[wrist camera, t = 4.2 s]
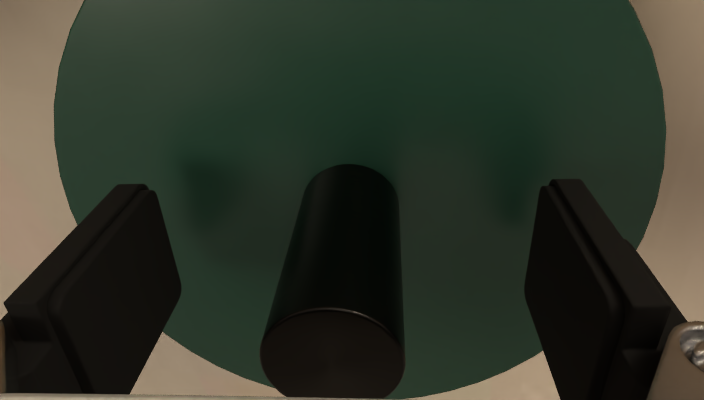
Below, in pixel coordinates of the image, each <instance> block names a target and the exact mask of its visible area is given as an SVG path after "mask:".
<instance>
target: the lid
mask: <svg viewBox="0 0 704 400" xmlns="http://www.w3.org/2000/svg"><path fill="white" fill-rule="evenodd" d="M54 140H55V147H56V153H57V160H58V166H59V172H60V177H61V180H62V184H63V187H64V190H65V193H66V197H67V200H68V203H69V206H70V209H71V212H72V214H73V216H74V218H75V220H76V223H77V225H79V224H80V223H81V221H82V220H83V219H84V218H85V217H86V216H87V215H88V214H89V213H90V212H91V211H92V210H93V209H94V208H95V207H96V206H97V205H98V204H99V203H100V202H101V201H102V200H103V199H104V198H105V196H106V195H107V194H108V193H109V192H110V191H111V190H112V189H113V188H114V187H115V186H116V185H118V184H145V185H147V187H148V188H149V190H154V191H155V192H156V194H157V197H158V200H159V204H160V207H161V211H162V215H163V218H164V222H165V226H166V229H167V233H168V237H169V240H170V244H171V248H172V251H173V255H174V259H175V262H176V266H177V270H178V273H179V277H180V281H181V296H180V299H179V301H178V303H177V305H176V306H175V308H174V310H173V312H172V314H171V316H170V318H169V320H168V322H167V324H166V326H165V327H164V329H163V332H164V333H165V334H166V335H168V336H169V337H171V338H172V339H174V340H175V341H176V342H178V343H179V344H181V345H182V346H184V347H185V348H187V349H188V350H190V351H191V352H193V353H195V354H196V355H198V356H200V357H202V358H204V359H206V360H207V361H209V362H211V363H213V364H215V365H216V366H218V367H221V368H223V369H225V370H227V371H230V372H232V373H234V374H237V375H239V376H241V377H243V378H246V379H249V380H252V381H255V382H258V383H261V384H264V385H267V386H270V387H273V388H276V389H277V390H278V391H279V392H280V393H282V394H283V395H284V396H286V397H309V398H358V399H407V398H416V397H423V396H428V395H433V394H438V393H443V392H447V391H452V390H455V389H458V388H461V387H465V386H468V385H471V384H475V383H478V382H481V381H483V380H486V379H488V378H490V377H493V376H495V375H498V374H500V373H503V372H505V371H507V370H509V369H511V368H513V367H515V366H517V365H519V364H521V363H522V362H524V361H526V360H528V359H530V358H532V357H534V356H535V355H537V354H538V353H540V352H541V351H543V348H542V345H541V343H540V340H539V337H538V334H537V331H536V328H535V326H534V323H533V320H532V317H531V314H530V311H529V308H528V306H527V303H526V300H525V294H524V284H525V277H526V271H527V265H528V259H529V252H530V246H531V240H532V234H533V228H534V222H535V215H536V209H537V203H538V197H539V191H540V188H541V187H542V186H548V185H549V183H550V181H551V180H552V179H581V180H582V181H583V182H584V184H585V185H586V187H587V188H588V190H589V191H590V192H591V194H592V195H593V197H594V198H595V199H596V201H597V202H598V204H599V205H600V206H601V208H602V209H603V211H604V212H605V213H606V215H607V216H608V218H609V219H610V221H611V222H612V223H613V225H614V226H615V228H616V229H617V230H618V232H619V233H620V235H621V236H622V237H623V239H627V240H628V241H629V242H630V243H631V244H632V246H633V247H634V248H635V250H637V248H638V246H639V244H640V242H641V240H642V239H643V237H644V234H645V231H646V229H647V226H648V223H649V221H650V218H651V216H652V213H653V210H654V208H655V205H656V201H657V197H658V192H659V187H660V183H661V178H662V174H663V169H664V157H665V141H666V122H665V111H664V101H663V90H662V86H661V82H660V78H659V74H658V71H657V67H656V63H655V59H654V55H653V51H652V48H651V46H650V44H649V41H648V39H647V37H646V35H645V32H644V30H643V28H642V26H641V23H640V21H639V19H638V17H637V14H636V12H635V10H634V8H633V7H632V5H631V4H630V2H629V1H628V0H84V2H83V4H82V6H81V8H80V10H79V12H78V14H77V16H76V18H75V20H74V23H73V25H72V27H71V29H70V32H69V36H68V39H67V42H66V46H65V49H64V52H63V56H62V59H61V62H60V66H59V71H58V78H57V86H56V93H55V100H54Z"/></svg>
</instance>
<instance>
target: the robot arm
mask: <svg viewBox="0 0 704 400" xmlns="http://www.w3.org/2000/svg"><path fill="white" fill-rule="evenodd" d="M524 294H525V300H526V303H527V306H528V308H529V311H530V314H531V317H532V320H533V323H534V326H535V328H536V331H537V334H538V337H539V340H540V343H541V345H542V348H543V351H544V354H545V357H546V360H547V362H548V365H549V368H550V371H551V374H552V377H553V379H554V382H555V385H556V388H557V391H558V394H559V396H560V399H561V400H704V322H702V321H693V322H687V320H686V319H685V318H684V316H683V315H682V313H681V312H680V311H679V309H678V308H677V306H676V305H675V304H674V302H673V301H672V300H671V298H670V297H669V295H668V294H667V293H666V291H665V290H664V288H663V287H662V286H661V284H660V283H659V282H658V280H657V279H656V277H655V276H654V275H653V273H652V272H651V270H650V269H649V268H648V266H647V265H646V264H645V262H644V261H643V259H642V258H641V257H640V255H639V254H638V252H637V251H636V250H635V248H634V247H633V246H632V244H631V243H630V242H629V241H628V240H627V239H623V237H622V236H621V235H620V233H619V232H618V230H617V229H616V228H615V226H614V225H613V223H612V222H611V221H610V219H609V218H608V216H607V215H606V213H605V212H604V211H603V209H602V208H601V206H600V205H599V204H598V202H597V201H596V199H595V198H594V197H593V195H592V194H591V192H590V191H589V190H588V188H587V187H586V185H585V184H584V182H583V181H582V180H581V179H552V180H551V181H550V183H549V185H548V186H542V187H541V188H540V191H539V197H538V203H537V209H536V215H535V222H534V228H533V234H532V240H531V246H530V252H529V259H528V265H527V271H526V277H525V284H524ZM180 296H181V281H180V277H179V273H178V270H177V266H176V262H175V259H174V255H173V251H172V248H171V244H170V240H169V237H168V233H167V229H166V226H165V222H164V218H163V215H162V211H161V207H160V204H159V200H158V197H157V194H156V192H155V191H154V190H149V188H148V187H147V185H145V184H118V185H116V186H115V187H114V188H113V189H112V190H111V191H110V192H109V193H108V194H107V195H106V196H105V198H104V199H103V200H102V201H101V202H100V203H99V204H98V205H97V206H96V207H95V208H94V209H93V210H92V211H91V212H90V213H89V214H88V215H87V216H86V217H85V218H84V219H83V220H82V221H81V223H80V224H79V225H78V226H77V227H76V228H75V229H74V230H73V231H72V232H71V233H70V234H69V235H68V236H67V237H66V238H65V239H64V240H63V241H62V242H61V243H60V244H59V245H58V246H57V247H56V249H55V250H54V251H53V252H52V253H51V254H50V255H49V256H48V257H47V258H46V259H45V260H44V261H43V262H42V263H41V264H40V265H39V266H38V267H37V268H36V269H35V270H34V271H33V272H32V274H31V275H30V276H29V277H28V278H27V279H26V280H25V281H24V282H23V283H22V284H21V285H20V286H19V287H18V288H17V289H16V290H15V291H14V292H13V293H12V294H11V295H10V296H9V297H8V299H7V300H6V301H5V302H4V305H5V307H6V309H7V311H8V313H7V314H6V315H5V316H4V317H3V318H2V319H1V320H0V400H401V399H358V398H309V397H257V396H201V395H129V394H130V392H131V390H132V389H133V387H134V385H135V383H136V381H137V379H138V377H139V375H140V373H141V371H142V369H143V368H144V366H145V364H146V362H147V360H148V358H149V356H150V354H151V352H152V350H153V348H154V347H155V345H156V343H157V341H158V339H159V337H160V335H161V333H162V331H163V329H164V327H165V326H166V324H167V322H168V320H169V318H170V316H171V314H172V312H173V310H174V308H175V306H176V305H177V303H178V301H179V299H180Z"/></svg>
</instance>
